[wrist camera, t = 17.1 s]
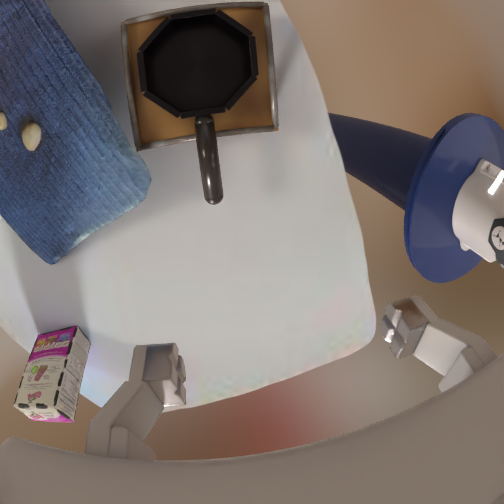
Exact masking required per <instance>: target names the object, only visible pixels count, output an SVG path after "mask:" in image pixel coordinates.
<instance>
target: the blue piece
mask: <svg viewBox="0 0 504 504" xmlns="http://www.w3.org/2000/svg"><path fill="white" fill-rule="evenodd" d="M150 182H151V177H150V173H149V170H148V168H147V166H146V164H145V162H144V161H143V159H142V158H141V157H140V156H139V154H138V153H137V152H136V151H135V150H134V149H133V148H132V146H131V145H130V143H129V141H128V139H127V138H126V136H125V134H124V133H123V131H122V129H121V128H120V126H119V124H118V123H117V121H116V119H115V117H114V115H113V112H112V110H111V106H110V104H109V102H108V99H107V98H106V96H105V94H104V91H103V89H102V88H101V86H100V85H99V84H98V82H97V81H96V80H95V78H94V76H93V75H92V73H91V72H90V70H89V69H88V67H87V66H86V64H85V63H84V61H83V60H82V58H81V57H80V55H79V54H78V52H77V51H76V49H75V47H74V46H73V44H72V43H71V41H70V40H69V39H68V37H67V36H66V34H65V33H64V32H63V30H62V28H61V27H60V26H59V25H58V23H57V22H56V20H55V19H54V18H53V17H52V15H51V14H50V9H49V8H48V6H47V5H46V3H45V1H44V0H0V215H1V216H2V217H3V218H4V220H5V221H6V222H7V223H8V224H9V225H10V226H11V228H12V229H13V230H14V231H15V232H16V233H17V234H18V236H19V237H20V238H21V239H22V240H23V241H24V242H25V243H26V244H27V245H28V246H29V248H30V249H31V250H32V251H34V252H35V253H36V254H37V255H38V256H39V257H40V258H42V259H43V260H44V261H45V262H47V263H49V264H55V263H56V262H57V261H58V260H59V259H60V258H61V257H63V256H65V255H66V254H68V253H69V252H70V251H71V250H72V249H73V248H74V247H76V246H77V245H78V244H79V243H80V242H82V241H83V240H84V239H85V238H86V237H87V236H89V235H90V234H92V233H93V232H95V231H97V230H99V229H101V228H102V227H104V226H106V225H107V224H109V223H111V222H112V221H114V220H115V219H117V218H119V217H120V216H122V215H123V214H125V213H126V212H128V211H130V210H131V209H133V208H135V207H136V206H137V205H138V204H139V203H141V202H142V201H143V200H144V199H145V197H146V194H147V190H148V187H149V184H150Z"/></svg>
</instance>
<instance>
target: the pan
mask: <svg viewBox="0 0 504 504" xmlns="http://www.w3.org/2000/svg"><path fill="white" fill-rule="evenodd" d="M252 34H253V32H251V31H250V30H249V29H247V28H246V27H244V26H243V25H242V24H240V23H239V22H237V21H236V20H234V19H233V18H232V17H230V16H229V15H227V14H226V13H224V12H222V11H221V10H218V11H217V12H216V9H205V10H197V11H190V12H183V13H177V14H171V15H170V18H168V17H166V18H165V19H164V20H163V21H162V22H161V23H160V24H159V25H158V26H157V28H156V29H155V30H154V31H153V32H152V33H151V34H150V35H149V37H148V38H147V39H146V40H145V41H144V42H143V44H142V45H141V46H140V47H139V48H138V50H139V51H140V52H138V53H136V54H137V64H138V74H139V82H140V91H141V92H142V93H144V94H143V96H144V97H146V98H147V99H149V100H151V101H152V102H154V103H155V104H157V105H158V106H160V107H161V108H163V109H164V110H166V111H167V112H169V113H170V114H172V115H173V116H175V117H176V118H178V117H180V116H181V119H185V118H191V117H196V118H195V120H194V128H195V135H196V143H197V150H198V157H199V164H200V171H201V177H202V184H203V190H204V197H205V200H206V201H207V202H208V203H209V204H213V205H215V204H218V203H220V202H221V201H222V199H223V188H222V180H221V172H220V164H219V156H218V148H217V139H216V131H215V122H214V118H213V117H212V115H210V114H218V113H225V112H226V111H225V109H226V110H230V109H231V108H232V107H233V105H234V104H235V103H236V102H237V101H238V100H239V99H240V98H241V96H242V95H243V94H244V93H245V92H246V91H247V90H248V89H249V88H250V86H251V85H252V84H253V83H254V82H255V81H256V80H257V78H256V76H258V75H259V70H258V59H257V48H256V38H255V36H252Z"/></svg>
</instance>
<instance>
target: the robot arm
mask: <svg viewBox="0 0 504 504" xmlns="http://www.w3.org/2000/svg"><path fill="white" fill-rule="evenodd" d="M452 226H453V231H454V234H455V235H456V237H457V238H458V239H459V240H460V246H461V249H463V250H464V251H467V250H469V249H471V250H473V251H474V252H476V253H477V254H478V255H480V256H481V257H483V258H484V259H486V260H487V261H489V262H493V261H497V262H498V263H499V264H500V265H501V266H502V267H503V268H504V170H502V169H501V168H499V167H497V166H495V165H494V164H492V163H490V162H488V161H486V160H485V159H481V160H480V161H479V163H478V165H477V167H476V169H475V171H474V172H473V173H472V174H471V175H470V176H469V177H468V178H467V180H466V181H465V182H464V184H463V186H462V187H461V189H460V191H459V193H458V196H457V199H456V202H455V205H454V209H453V216H452ZM384 311H385V313H386V314H385V316H384V317H383V318H382V320H381V324H380V329H381V333H382V336H383V338H384V339H385V340H386V341H388V342H390V349H391V351H392V352H393V354H394V355H395V357H396V359H399V358H402V357H406V356H408V355H411V354H413V355H414V356H416V357H417V358H418V359H420V360H421V361H423V362H424V363H426V364H427V365H429V366H430V367H432V368H433V369H434V370H436V371H437V372H439V373H440V374H442V375H443V376H444V378H443V379H442V381H441V382H440V384H439V388H440V390H441V392H442V393H440V394H438V395H436V396H434V397H432V398H430V399H428V400H427V401H424V402H422V403H420V404H418V405H416V406H414V407H412V408H410V409H407V410H405V411H403V412H401V413H399V414H396V415H394V416H391V417H389V418H386V419H384V420H381V421H379V422H376V423H374V424H371V425H368V426H365V427H363V428H360V429H357V430H354V431H351V432H348V433H345V434H342V435H339V436H335V437H332V438H328V439H325V440H321V441H318V442H314V443H310V444H306V445H301V446H298V447H293V448H288V449H283V450H278V451H272V452H267V453H261V454H254V455H248V456H240V457H231V458H221V459H209V460H188V461H155V452H154V451H153V450H151V449H150V448H149V447H148V446H147V445H146V444H144V443H143V441H144V440H145V438H146V437H147V435H148V434H149V432H150V430H151V429H152V427H153V425H154V424H155V422H156V421H157V419H158V417H159V416H160V414H161V412H162V411H163V409H164V406H176V405H186V389H185V387H184V385H183V383H184V381H185V380H186V373H185V366H184V362H183V359H182V357H181V356H180V355H178V347H177V345H176V343H167V344H151V345H136V347H135V348H134V352H133V357H132V363H131V369H130V375H129V381H126V382H124V383H123V384H122V386H121V387H120V388H119V389H118V390H117V391H116V392H115V394H114V395H113V396H112V397H111V398H110V399H109V400H108V402H107V403H106V404H105V405H104V406H103V407H102V409H101V410H100V411H99V412H98V413H97V414H96V416H95V417H94V418H93V419H92V420H91V421H90V422H89V427H88V433H87V440H86V447H85V454H83V453H78V452H72V451H67V450H63V449H58V448H54V447H49V446H46V445H42V444H38V443H34V442H31V441H28V440H24V439H22V438H18V437H10V438H8V439H7V440H5V441H4V442H3V443H2V444H1V445H0V504H504V353H503V354H501V355H500V356H499V357H497V356H496V355H495V353H494V352H493V351H492V349H491V348H490V347H489V346H488V344H487V343H486V342H485V340H484V339H483V338H482V337H480V336H478V335H476V334H474V333H472V332H469V331H467V330H465V329H463V328H461V327H458V326H457V325H455V324H452V323H450V322H448V321H446V320H444V319H442V318H441V319H438V317H437V316H436V315H435V314H434V313H433V311H432V310H431V309H430V308H429V307H428V305H427V304H426V303H425V302H424V300H423V299H422V298H421V297H420V296H418V295H415V296H412V297H408V298H404V299H401V300H398V301H394V302H391V303H388V304H387V305H386V306H385V310H384Z"/></svg>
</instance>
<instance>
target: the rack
mask: <svg viewBox="0 0 504 504" xmlns="http://www.w3.org/2000/svg"><path fill="white" fill-rule="evenodd" d="M205 9H216V12H217V11H218V10H221V11H222V12H224V13H226V14H227V15H229V16H230V17H232V18H233V19H234V20H236V21H237V22H239V23H240V24H242V25H243V26H244V27H246V28H247V29H249V30H250V31H251V32H253V34H252V36H255V38H256V48H257V59H258V70H259V75H258V76H256V78H257V80H256V81H255V82H254V83H253V84H252V85H251V86H250V88H249V89H248V90H247V91H246V92H245V93H244V94H243V95H242V96H241V98H240V99H239V100H238V101H237V102H236V103H235V104H234V105H233V107H232V108H231V109H230V110H226V109H225V111H226V112H225V113H218V114H210V115H212V117H213V118H214V122H215V131H216V137H222V136H231V135H239V134H249V133H260V132H272V131H278V126H279V123H278V107H277V93H276V80H275V67H274V55H273V44H272V33H271V23H270V13H269V6H268V3H264V2H231V3H217V4H206V5H197V6H190V7H183V8H177V9H171V10H166V11H161V12H156V13H151V14H147V15H143V16H139V17H135V18H131V19H127V20H125V21H124V22H122V25H121V35H122V50H123V62H124V72H125V81H126V90H127V98H128V105H129V112H130V119H131V125H132V131H133V137H134V143H135V147H136V150H137V151H142V150H146V149H151V148H156V147H161V146H166V145H171V144H177V143H182V142H188V141H194V140H196V135H195V128H194V120H195V118H196V117H191V118H185V119H181V116H180V117H178V118H176V117H175V116H173V115H172V114H170V113H169V112H167V111H166V110H164V109H163V108H161V107H160V106H158V105H157V104H155V103H154V102H152V101H151V100H149V99H147V98H146V97H144V96H143V94H144V93H142V92H141V91H140V82H139V74H138V64H137V54H136V53H138V52H140V51H139V50H138V48H139V47H140V46H141V45H142V44H143V42H144V41H145V40H146V39H147V38H148V37H149V35H150V34H151V33H152V32H153V31H154V30H155V29H156V28H157V26H158V25H159V24H160V23H161V22H162V21H163V20H164V19H165V18H166V17H168V18H170V15H171V14H177V13H183V12H190V11H197V10H205Z"/></svg>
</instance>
